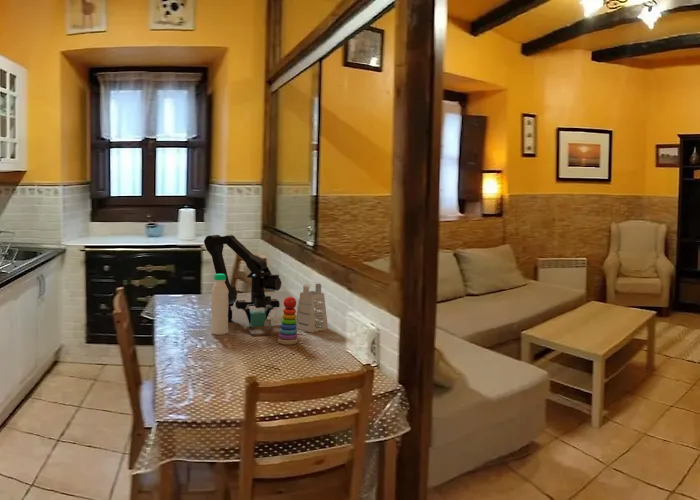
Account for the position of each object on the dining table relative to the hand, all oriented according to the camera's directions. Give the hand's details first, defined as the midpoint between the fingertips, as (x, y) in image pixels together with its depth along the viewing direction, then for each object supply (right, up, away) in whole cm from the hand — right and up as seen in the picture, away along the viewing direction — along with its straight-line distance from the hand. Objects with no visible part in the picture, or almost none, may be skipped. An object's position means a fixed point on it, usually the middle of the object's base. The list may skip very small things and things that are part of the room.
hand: (257, 322), depth 276 cm
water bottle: (-14, -3, -15) cm, 21 cm away
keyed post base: (+6, -3, -10) cm, 12 cm away
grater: (+24, -2, -2) cm, 24 cm away
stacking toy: (+16, -5, -27) cm, 32 cm away
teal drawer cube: (0, -1, 0) cm, 1 cm away
